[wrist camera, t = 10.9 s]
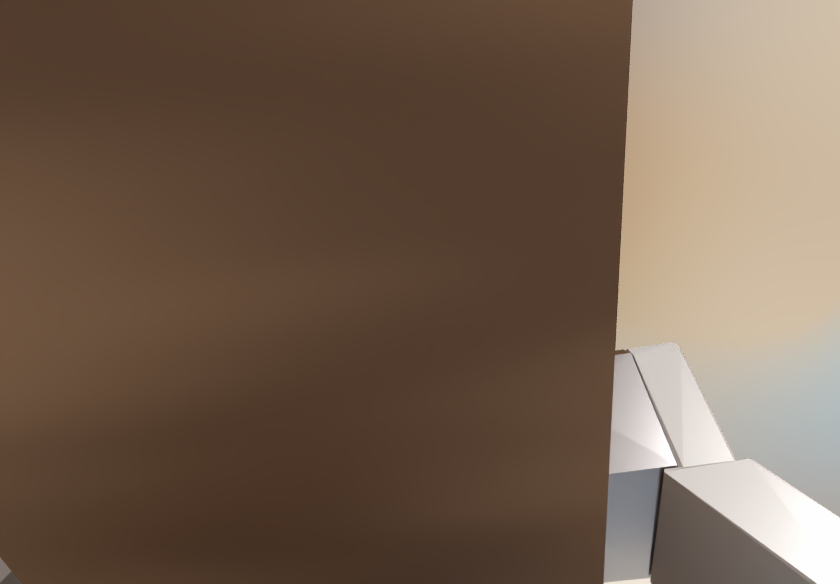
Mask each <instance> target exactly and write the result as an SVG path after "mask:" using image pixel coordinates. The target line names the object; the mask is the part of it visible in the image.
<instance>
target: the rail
mask: <svg viewBox="0 0 840 584" xmlns="http://www.w3.org/2000/svg"><path fill="white" fill-rule="evenodd" d="M632 1H633V0H0V558H1V559H2V560H3V561H4V563H5V564H6V565H7V566H8V567H9V569H10V570H11V571H12V572H13V574H14V575H15V576H16V577H17V578H18V580H19V581H20V582H21V583H22V584H603V583H604V563H605V543H606V523H607V503H608V483H609V463H610V443H611V423H612V403H613V383H614V363H615V342H616V322H617V303H618V282H619V263H620V243H621V223H622V203H623V183H624V162H625V143H626V142H625V141H626V123H627V103H628V83H629V63H630V43H631V23H632V3H633V2H632Z"/></svg>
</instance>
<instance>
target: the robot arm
mask: <svg viewBox="0 0 840 584" xmlns="http://www.w3.org/2000/svg"><path fill="white" fill-rule="evenodd" d="M644 578H651V579H650V582H651V583H652V584H840V517H838V516H837V515H835V514H833V513H832V512H831V511H829V510H828V509H826V508H825V507H823V506H822V505H820V504H819V503H817V502H816V501H814V500H813V499H811V498H810V497H808V496H807V495H805V494H804V493H802V492H801V491H799V490H797V489H796V488H795V487H793V486H792V485H790V484H789V483H787V482H786V481H784V480H783V479H781V478H780V477H778V476H776V475H775V474H773V473H772V472H771V471H769V470H768V469H766V468H765V467H763V466H762V465H760V464H759V463H757V462H756V461H754V460H753V459H751V458H750V459H740V460H736V459H735V457H734V455H733V453H732V451H731V449H730V447H729V445H728V443H727V441H726V439H725V437H724V435H723V433H722V431H721V429H720V427H719V425H718V423H717V421H716V419H715V417H714V415H713V413H712V411H711V409H710V407H709V405H708V402H707V401H706V399H705V396H704V394H703V392H702V391H701V388H700V387H699V384H698V382H697V381H696V378H695V376H694V374H693V373H692V370H691V368H690V366H689V365H688V362H687V360H686V358H685V356H684V354H683V352H682V350H681V348H680V347H678V346H677V345H676V344H675V343H673V342H671V343H664V344H657V345H651V346H644V347H636V348H630V349H627V350H616V351H615V363H614V383H613V403H612V423H611V443H610V463H609V483H608V503H607V523H606V543H605V563H604V582H614V581H624V580H634V579H644ZM0 584H22V583H21V582H20V581H19V580H18V578H17V577H16V576H15V575H14V574H13V572H12V571H11V570H10V569H9V567H8V566H7V565H6V564H5V563H4V561H3V560H2V559H1V558H0Z"/></svg>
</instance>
